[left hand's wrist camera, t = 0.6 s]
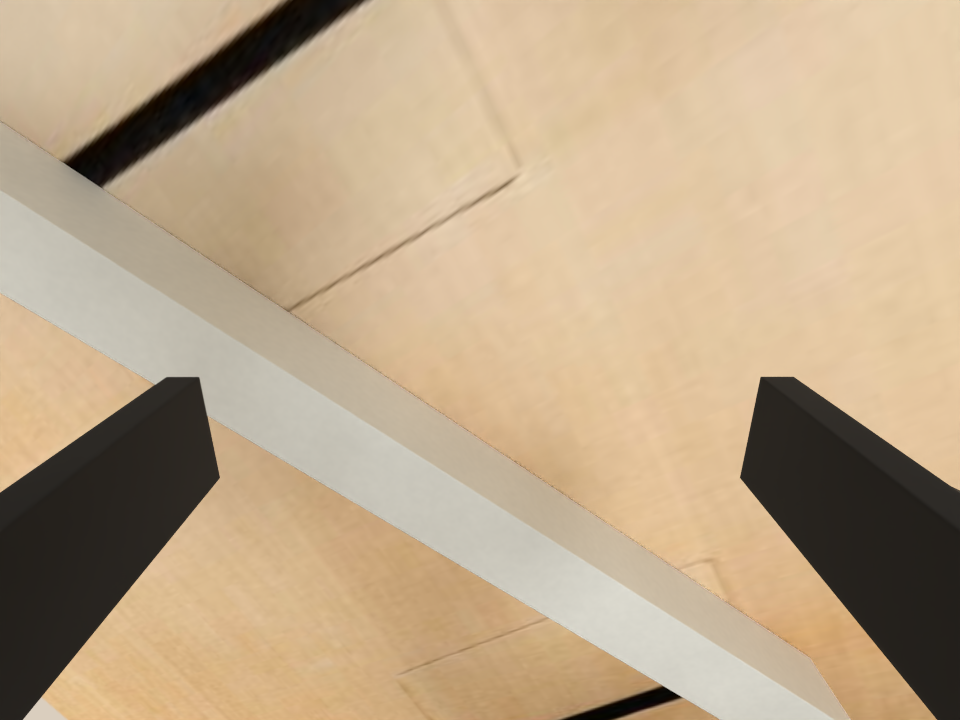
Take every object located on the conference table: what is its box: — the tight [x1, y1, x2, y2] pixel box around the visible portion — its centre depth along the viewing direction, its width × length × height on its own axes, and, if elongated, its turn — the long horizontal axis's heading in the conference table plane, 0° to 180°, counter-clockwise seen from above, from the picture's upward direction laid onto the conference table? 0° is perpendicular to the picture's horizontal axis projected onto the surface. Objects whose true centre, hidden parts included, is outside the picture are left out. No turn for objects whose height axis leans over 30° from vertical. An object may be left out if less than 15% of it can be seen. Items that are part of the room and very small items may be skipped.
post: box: [0, 121, 851, 720], centre depth 40 cm, size 80×6×8 cm, turn 53°
